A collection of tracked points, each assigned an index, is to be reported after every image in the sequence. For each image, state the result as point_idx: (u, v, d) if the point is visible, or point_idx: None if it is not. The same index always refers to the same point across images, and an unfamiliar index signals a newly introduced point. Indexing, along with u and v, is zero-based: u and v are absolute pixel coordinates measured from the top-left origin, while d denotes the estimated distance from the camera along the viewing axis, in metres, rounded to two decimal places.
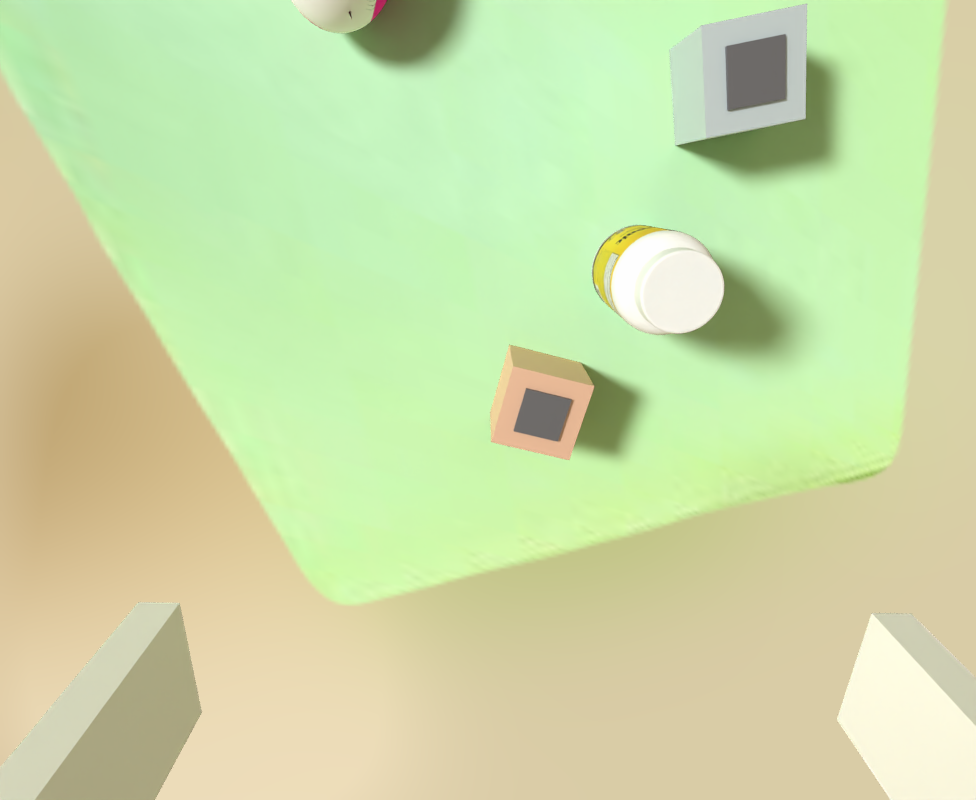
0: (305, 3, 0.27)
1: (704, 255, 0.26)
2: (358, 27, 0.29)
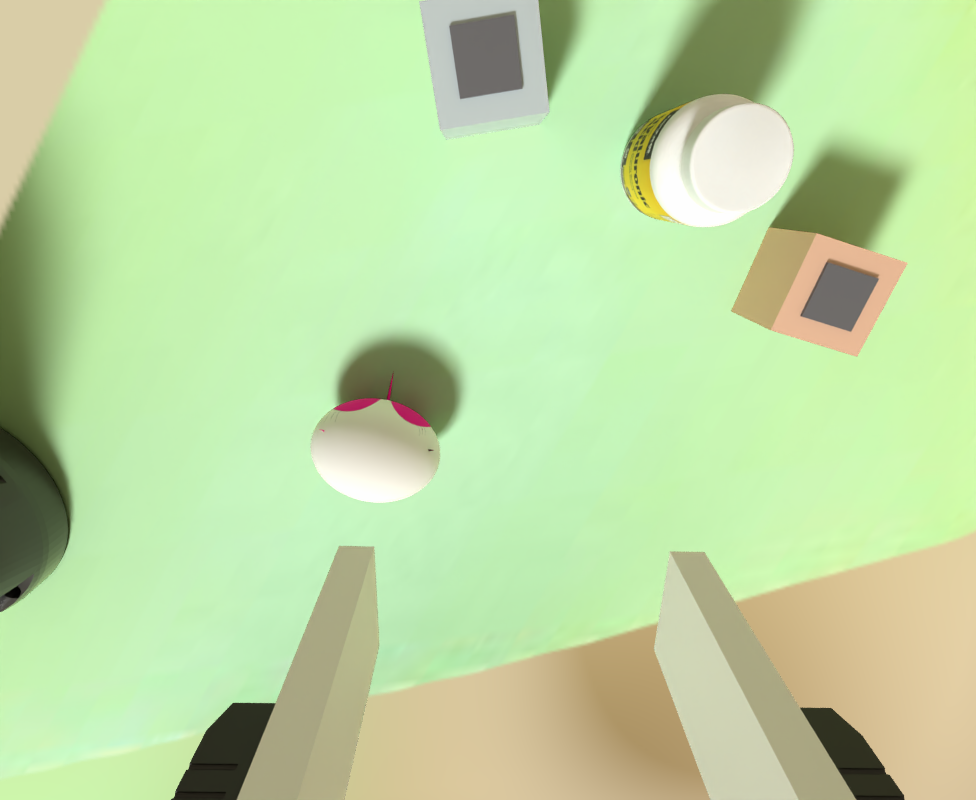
0: (423, 483, 0.33)
1: (701, 135, 0.21)
2: (436, 439, 0.33)
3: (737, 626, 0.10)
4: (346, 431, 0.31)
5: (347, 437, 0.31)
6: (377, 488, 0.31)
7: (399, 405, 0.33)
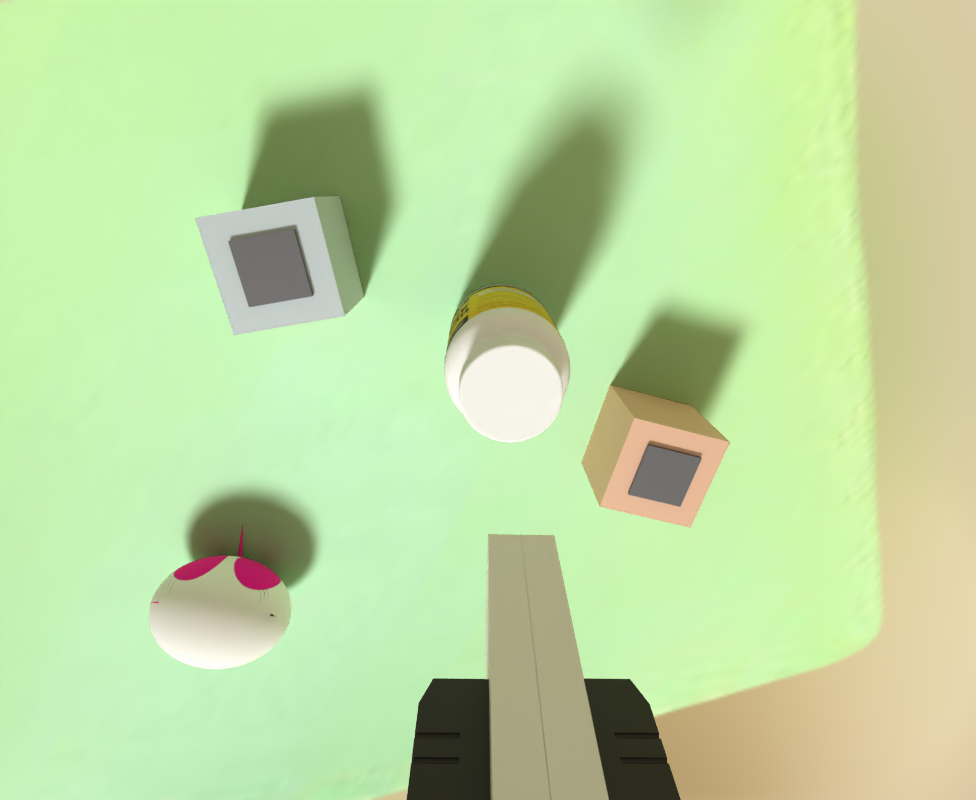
0: (268, 647, 0.32)
1: (465, 374, 0.21)
2: (283, 598, 0.33)
3: (555, 603, 0.11)
4: (179, 605, 0.30)
5: (179, 611, 0.30)
6: (213, 661, 0.30)
7: (243, 566, 0.32)
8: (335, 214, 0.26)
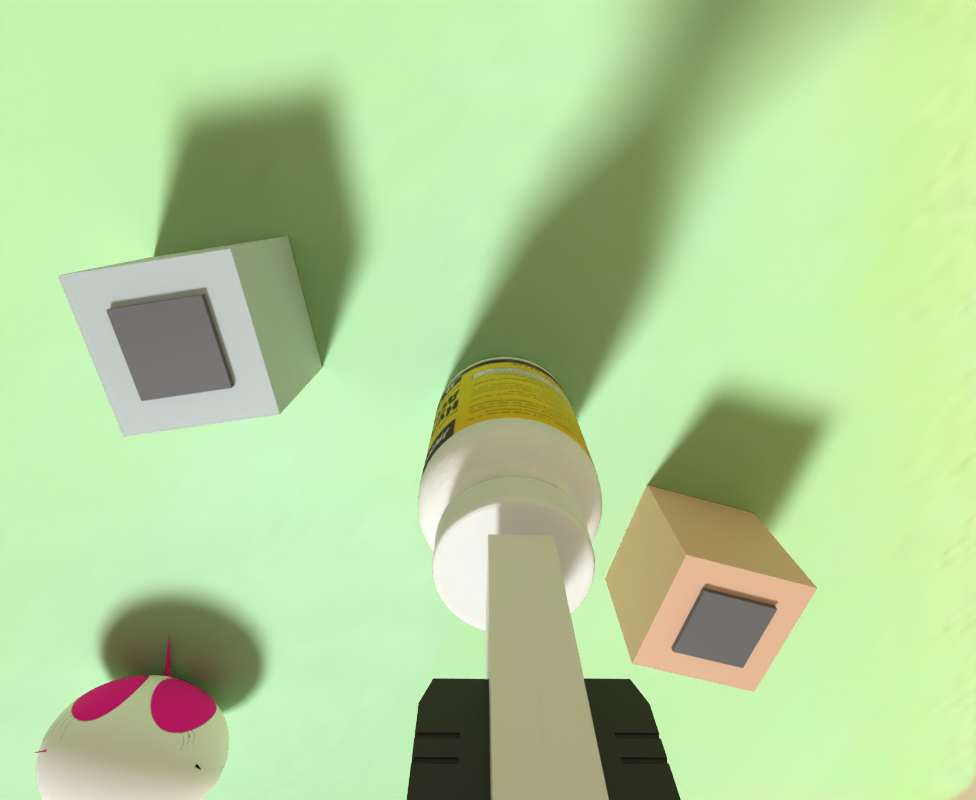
0: None
1: (442, 542, 0.13)
2: (216, 737, 0.25)
3: (555, 603, 0.11)
4: (70, 759, 0.23)
5: (70, 768, 0.22)
6: None
7: (164, 696, 0.25)
8: (276, 264, 0.19)
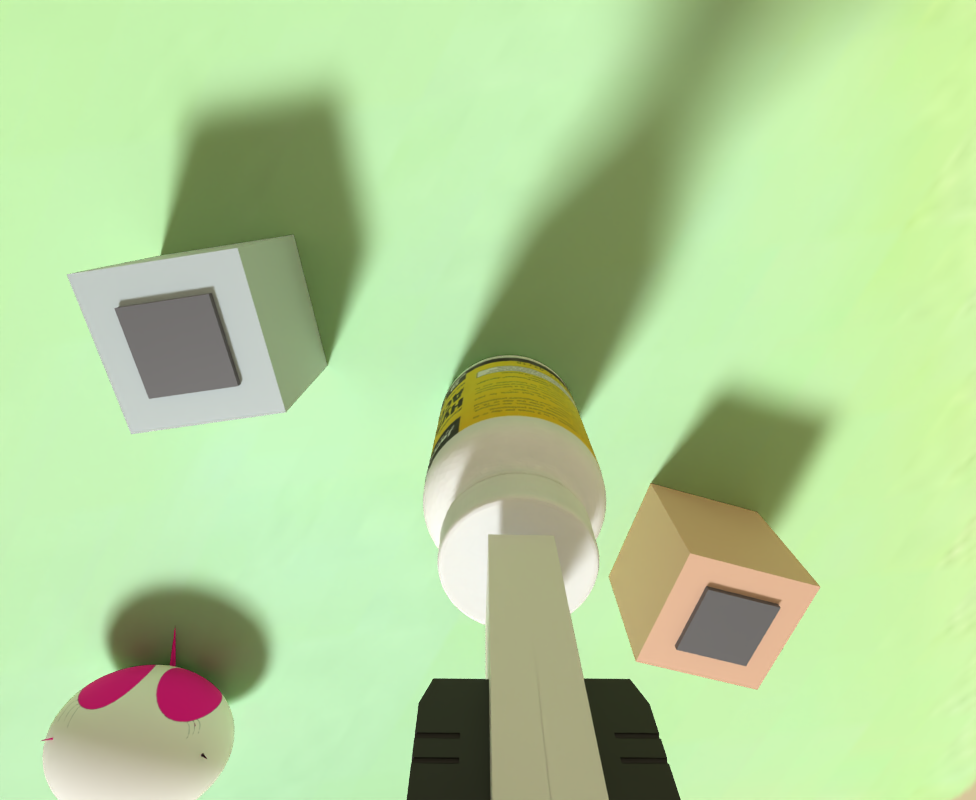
0: (199, 794, 0.24)
1: (447, 538, 0.13)
2: (222, 727, 0.25)
3: (555, 603, 0.11)
4: (77, 747, 0.23)
5: (76, 756, 0.23)
6: None
7: (169, 685, 0.25)
8: (282, 263, 0.19)
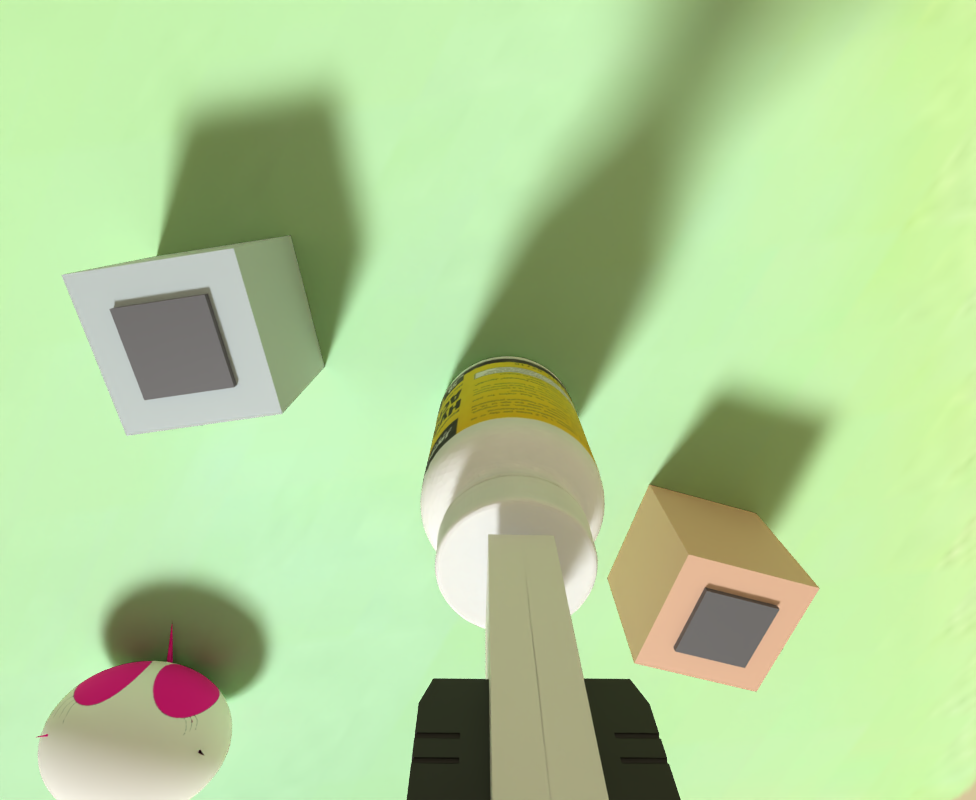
0: (196, 791, 0.24)
1: (445, 541, 0.13)
2: (219, 723, 0.25)
3: (556, 603, 0.11)
4: (72, 744, 0.22)
5: (72, 753, 0.22)
6: None
7: (166, 682, 0.24)
8: (278, 264, 0.19)
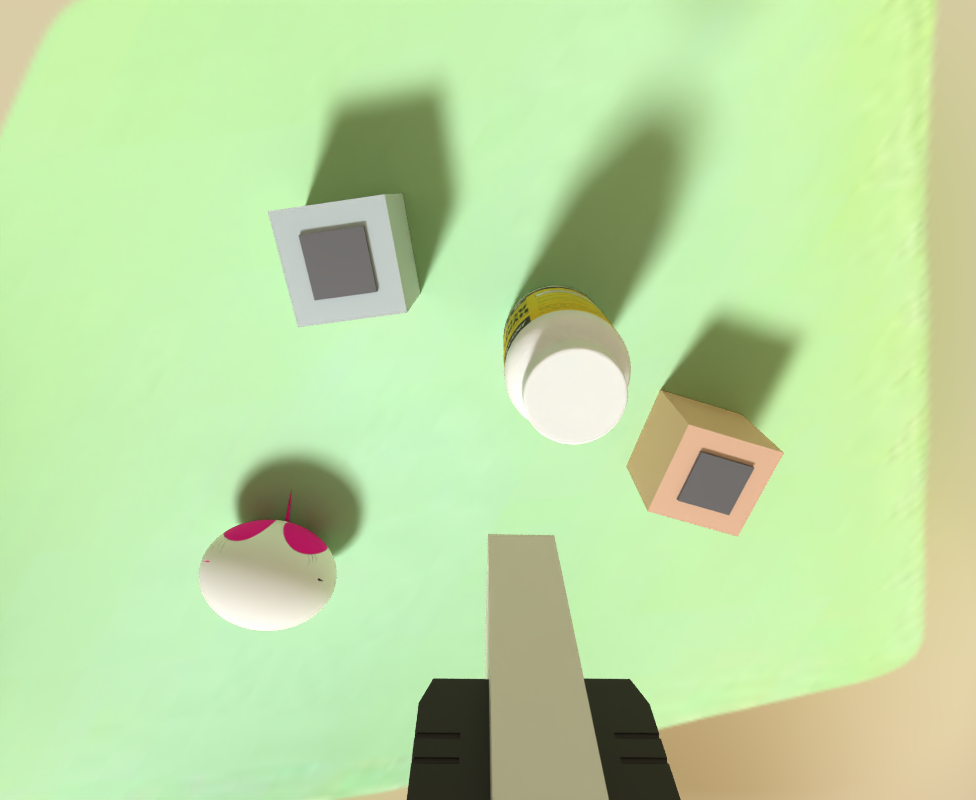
0: (314, 612, 0.32)
1: (531, 376, 0.21)
2: (330, 564, 0.33)
3: (556, 603, 0.11)
4: (230, 565, 0.30)
5: (230, 571, 0.30)
6: (261, 622, 0.30)
7: (291, 530, 0.32)
8: (399, 211, 0.27)
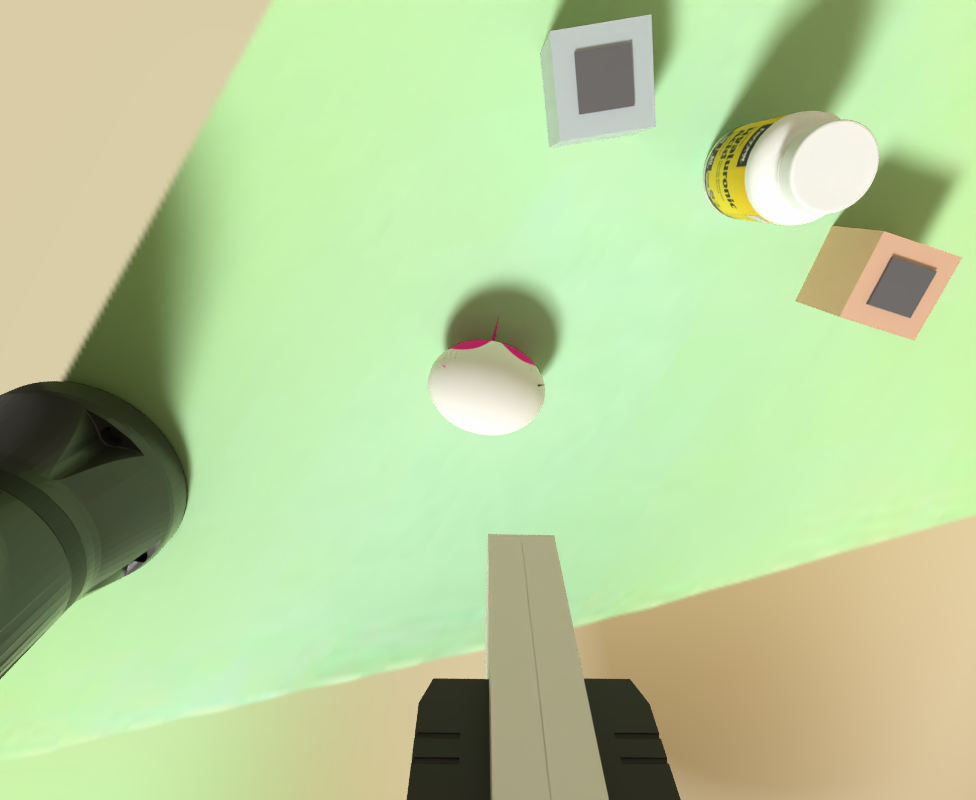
0: (532, 417, 0.36)
1: (801, 147, 0.25)
2: (541, 377, 0.36)
3: (555, 603, 0.11)
4: (467, 366, 0.34)
5: (468, 370, 0.34)
6: (494, 418, 0.34)
7: None
8: None
